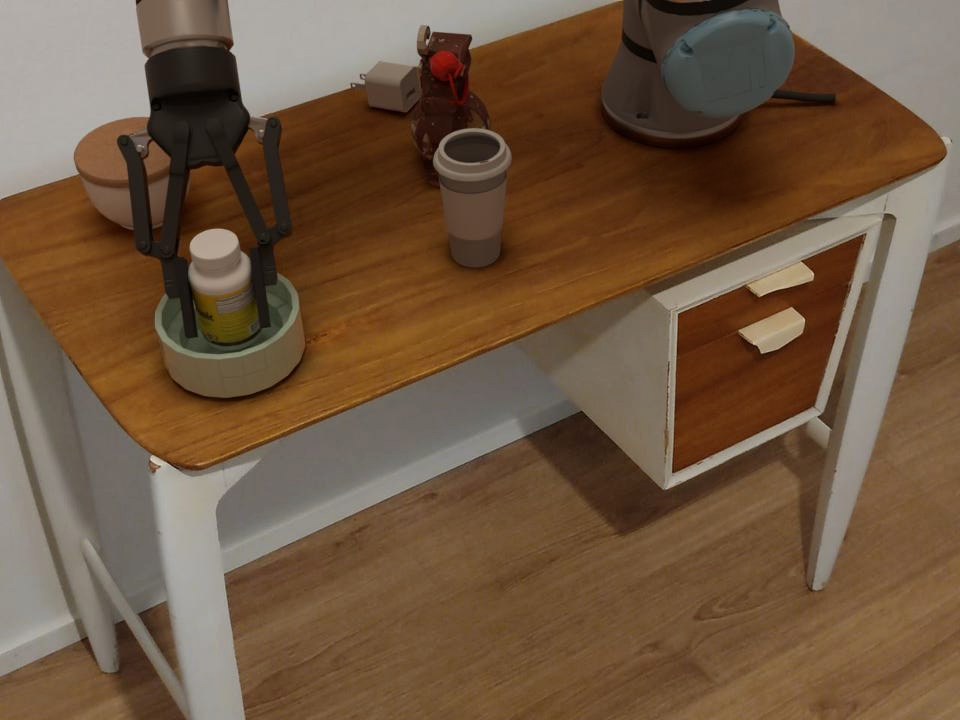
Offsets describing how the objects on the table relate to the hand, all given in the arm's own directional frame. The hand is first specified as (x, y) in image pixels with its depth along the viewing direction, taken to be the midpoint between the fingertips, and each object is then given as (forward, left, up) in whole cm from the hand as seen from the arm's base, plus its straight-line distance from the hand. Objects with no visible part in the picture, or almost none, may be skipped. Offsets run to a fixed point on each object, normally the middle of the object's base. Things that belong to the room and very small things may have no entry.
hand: (228, 331), depth 108 cm
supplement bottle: (0, -4, -4) cm, 5 cm away
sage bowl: (0, -4, -6) cm, 7 cm away
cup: (-23, -13, -6) cm, 27 cm away
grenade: (-23, -28, -6) cm, 37 cm away
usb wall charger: (-17, -41, -1) cm, 45 cm away
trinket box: (+8, -26, -6) cm, 28 cm away
